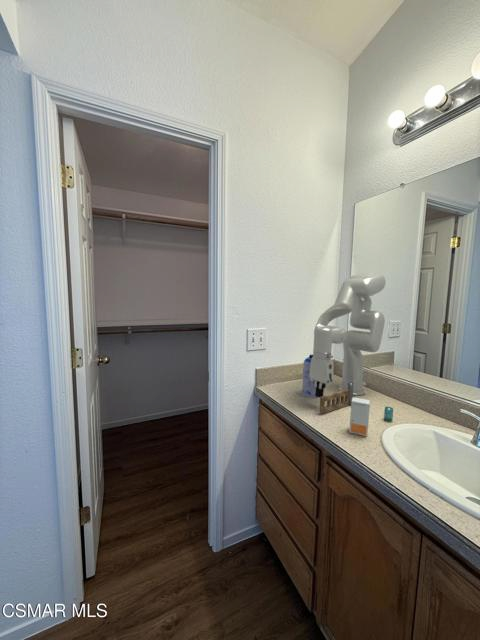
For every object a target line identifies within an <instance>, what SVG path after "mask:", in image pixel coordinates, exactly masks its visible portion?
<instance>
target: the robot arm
mask: <svg viewBox="0 0 480 640" xmlns="http://www.w3.org/2000/svg"><path fill="white" fill-rule="evenodd" d="M385 287H386V278H385V276H384V275H383V274H381V273H369V274H368V273H367V274H363V273H362V274H355V275H352V276H349V278H347V279H346V280H344V281H343V282H342V283H341V286H340V288H339V291H338V294H337V296H336V298H335V301H334V304H333V305H331V306H330V307H329V308H327V309H326V310H325V311H324V312H323V313H321V314H320V316H319V317H318V319H317V321H316V324H315V326H314V330H313V350H312V355H313V357H312V359H311V364H310V371H309V377H310V380H311V381H312V382H313V383H314V384H315V387H316V395H315V396H316V397H315V398H319V399H320V397H322V396H324V393H325V392H324V389H326V388H328V387H329V388H330V387H332V383H333V382H334V377H335V376H334V362H333V357H334V356H333V355H332V346H333V344H336V345H339V344H342V345H343V346H342V348H343V361H342V377H341V378H342V381H341V385H339V386H338V392H339V391H343V390H346V389H348V383H354V387H353V397H354V396H355V397H357V396H358V397H360V396H364V395H365V394H366V389H363V387H366V385H367V382H365V381H363V376H364V375H363V374H364V360H365V359H364V355H363V354H362V352H368V353H376V352H378V351H379V349H380V347H381V342H382V338H383V333H384V328H385V324H386V323H385V315H384V313H383V312H381V311H378V310H371V309H372V304H373V303H372V299H371V297H372V296H374V295H376V294H378V293H380V292H382V291H383V290H384V288H385ZM349 314H350V316H349V317H350V318H349V324H350V326H351V327H352V328H354V329H358V330H353V329H352V330H346V329H344V328H343V327H340V326H333V325H328V324H329V323H331V322H332V321H333V320H335V319H336V318H341V317H343V316H346V315H349ZM360 329H361V330H360ZM363 330H369V331H363Z"/></svg>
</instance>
